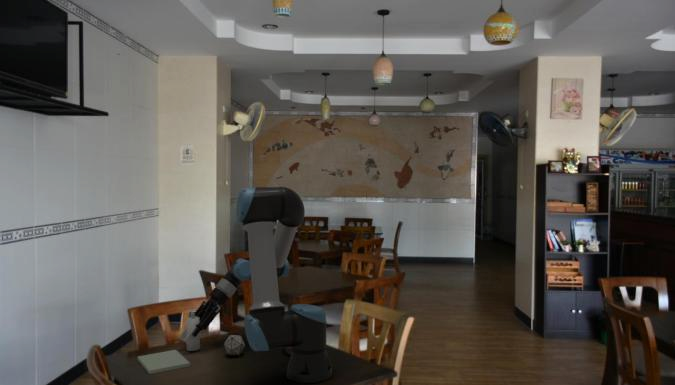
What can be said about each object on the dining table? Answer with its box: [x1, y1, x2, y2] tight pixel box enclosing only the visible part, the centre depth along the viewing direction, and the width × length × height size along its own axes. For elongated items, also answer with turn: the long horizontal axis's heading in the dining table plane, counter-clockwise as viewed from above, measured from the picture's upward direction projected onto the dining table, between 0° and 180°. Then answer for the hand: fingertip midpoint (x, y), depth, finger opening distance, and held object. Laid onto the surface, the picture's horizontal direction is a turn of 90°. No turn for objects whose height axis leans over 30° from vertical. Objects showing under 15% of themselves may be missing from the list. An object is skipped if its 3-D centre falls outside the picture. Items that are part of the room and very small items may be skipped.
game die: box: [221, 333, 248, 358], centre depth 196 cm, size 9×8×10 cm
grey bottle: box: [185, 311, 201, 352], centre depth 203 cm, size 5×5×14 cm
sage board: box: [137, 349, 191, 375], centre depth 189 cm, size 18×14×1 cm
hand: (183, 341), depth 201 cm, fingers closed on grey bottle, 5 cm apart
